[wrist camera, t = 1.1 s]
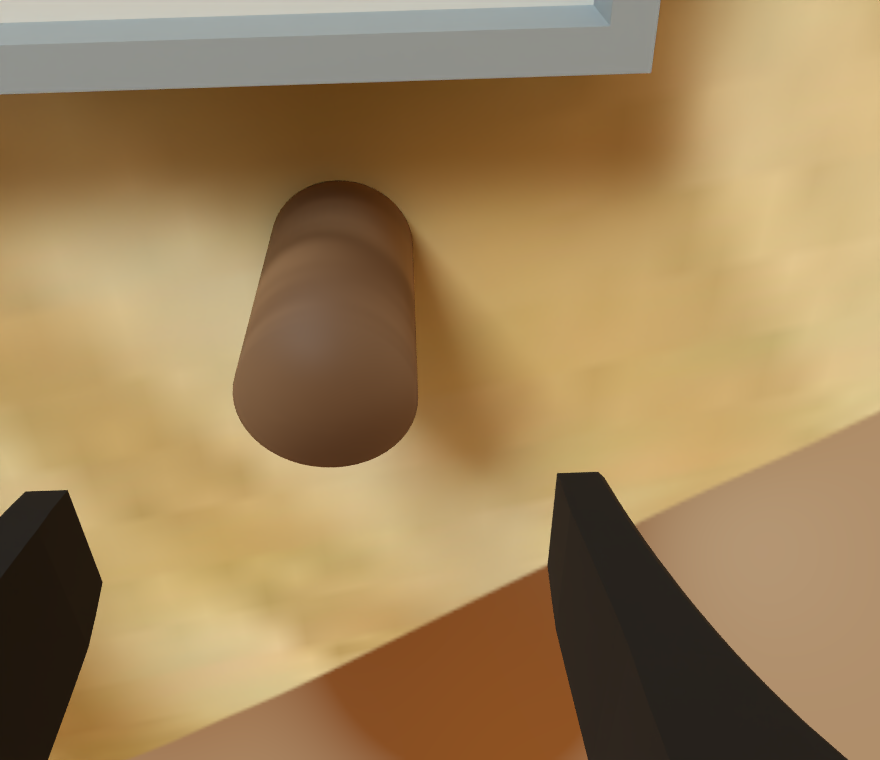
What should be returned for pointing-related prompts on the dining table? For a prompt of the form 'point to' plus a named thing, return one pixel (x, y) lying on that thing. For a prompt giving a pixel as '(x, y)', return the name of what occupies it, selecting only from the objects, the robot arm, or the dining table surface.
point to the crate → (313, 41)
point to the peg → (332, 330)
